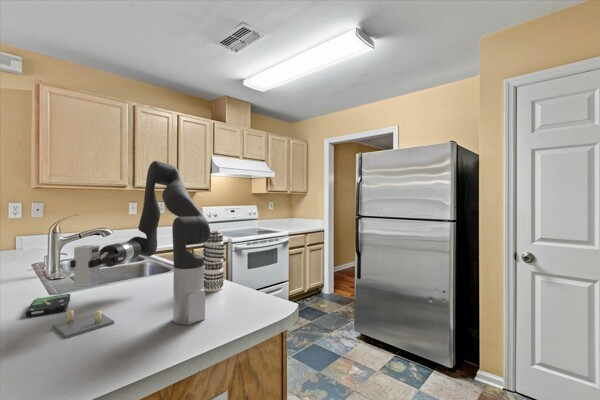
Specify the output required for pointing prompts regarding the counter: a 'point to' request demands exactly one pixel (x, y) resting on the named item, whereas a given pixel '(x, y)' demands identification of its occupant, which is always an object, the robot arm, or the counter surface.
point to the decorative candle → (213, 262)
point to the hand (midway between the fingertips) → (80, 264)
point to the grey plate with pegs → (82, 323)
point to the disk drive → (48, 305)
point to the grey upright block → (86, 266)
